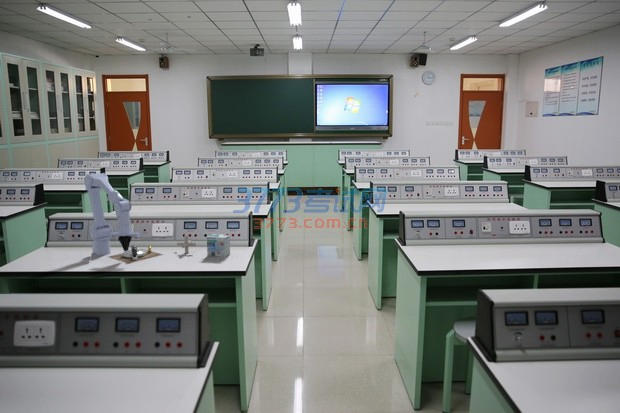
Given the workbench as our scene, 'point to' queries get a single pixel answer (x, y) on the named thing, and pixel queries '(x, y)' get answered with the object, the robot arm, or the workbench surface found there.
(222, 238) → the light bulb box
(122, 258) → the base board
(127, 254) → the crank
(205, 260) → the workbench surface
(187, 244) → the pipe connector
